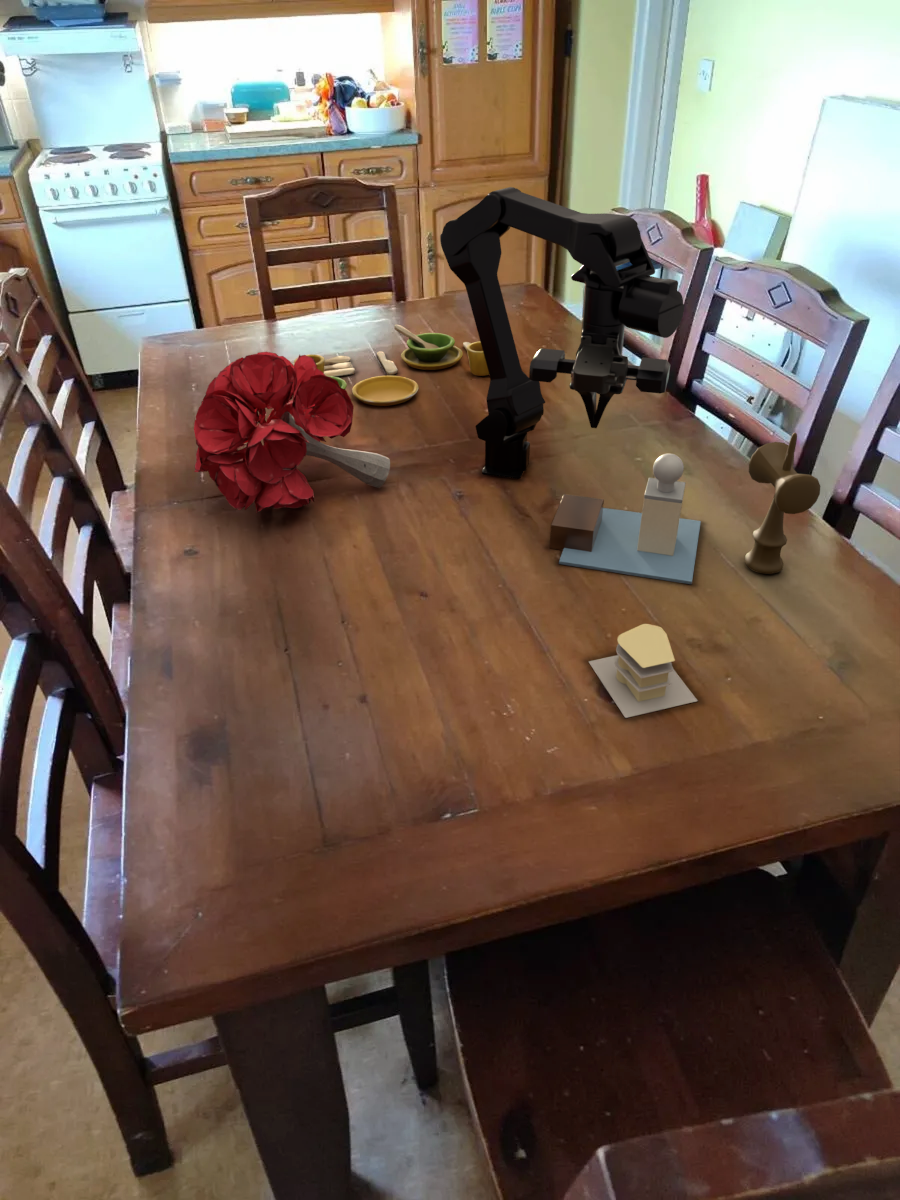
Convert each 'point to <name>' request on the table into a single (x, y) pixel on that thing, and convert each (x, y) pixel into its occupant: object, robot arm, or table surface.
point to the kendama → (778, 501)
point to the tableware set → (421, 354)
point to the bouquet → (275, 431)
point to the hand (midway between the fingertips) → (594, 427)
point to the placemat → (621, 555)
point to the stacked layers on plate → (642, 673)
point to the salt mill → (662, 506)
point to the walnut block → (576, 523)
